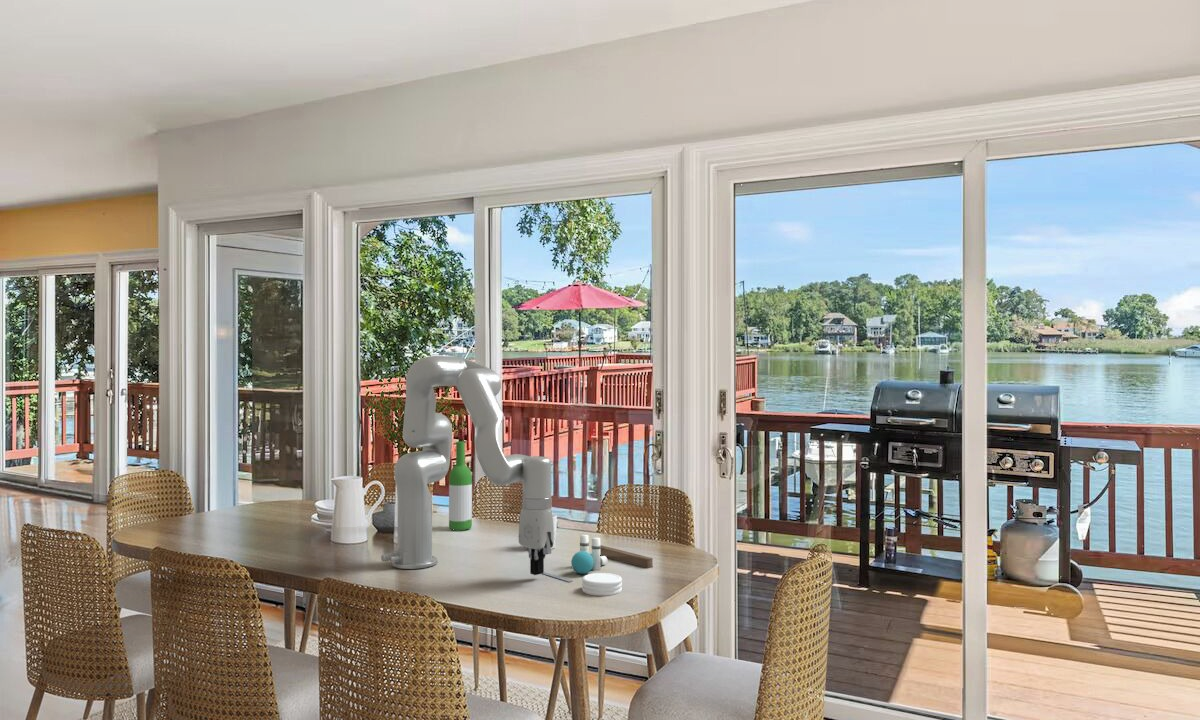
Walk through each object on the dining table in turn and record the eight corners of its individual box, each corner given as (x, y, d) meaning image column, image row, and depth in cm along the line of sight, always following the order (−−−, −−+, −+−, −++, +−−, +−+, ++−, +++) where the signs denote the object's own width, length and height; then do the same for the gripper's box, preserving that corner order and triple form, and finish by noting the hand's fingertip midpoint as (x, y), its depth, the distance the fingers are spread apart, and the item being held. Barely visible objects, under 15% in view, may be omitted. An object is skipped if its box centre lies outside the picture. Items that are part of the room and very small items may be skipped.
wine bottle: (476, 528, 280) (476, 441, 280) (461, 532, 273) (461, 443, 274) (459, 526, 284) (459, 440, 284) (444, 529, 277) (444, 442, 278)
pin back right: (595, 571, 222) (595, 539, 222) (589, 569, 223) (589, 538, 224) (602, 569, 223) (602, 538, 223) (596, 567, 225) (596, 537, 225)
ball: (589, 580, 219) (571, 575, 216) (581, 565, 224) (564, 561, 221) (600, 563, 217) (583, 558, 214) (593, 549, 222) (575, 544, 219)
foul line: (569, 582, 210) (569, 581, 210) (532, 570, 222) (532, 570, 222) (572, 581, 211) (572, 580, 211) (535, 570, 223) (535, 569, 223)
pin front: (584, 562, 222) (607, 556, 228) (579, 559, 224) (601, 554, 230) (584, 571, 222) (607, 565, 228) (578, 568, 224) (601, 563, 230)
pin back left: (583, 567, 225) (583, 536, 225) (578, 565, 227) (578, 535, 227) (590, 566, 227) (590, 535, 227) (584, 564, 229) (584, 534, 229)
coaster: (574, 592, 201) (574, 578, 201) (596, 583, 210) (596, 570, 210) (607, 599, 196) (607, 584, 196) (629, 589, 204) (629, 575, 204)
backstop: (647, 568, 225) (647, 559, 225) (595, 554, 241) (595, 546, 241) (652, 567, 226) (652, 558, 226) (600, 553, 242) (600, 545, 242)
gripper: (508, 501, 216) (508, 570, 216) (542, 509, 205) (542, 582, 205) (531, 498, 221) (531, 566, 221) (566, 505, 210) (566, 576, 210)
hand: (537, 573), depth 213 cm, fingers closed
